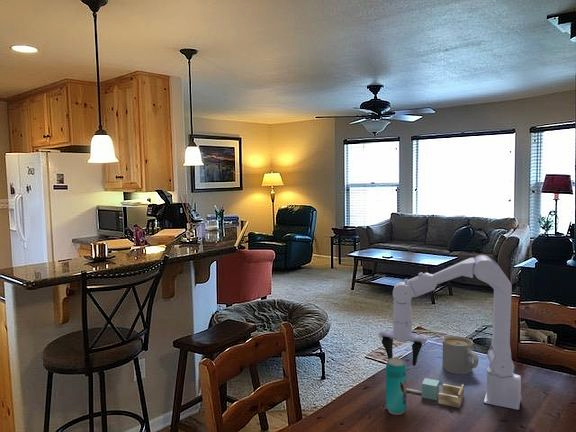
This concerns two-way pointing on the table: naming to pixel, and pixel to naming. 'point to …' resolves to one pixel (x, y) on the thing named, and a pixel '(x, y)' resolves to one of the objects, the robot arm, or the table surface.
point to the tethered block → (428, 389)
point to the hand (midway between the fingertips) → (402, 362)
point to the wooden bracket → (451, 395)
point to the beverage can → (396, 386)
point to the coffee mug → (458, 355)
